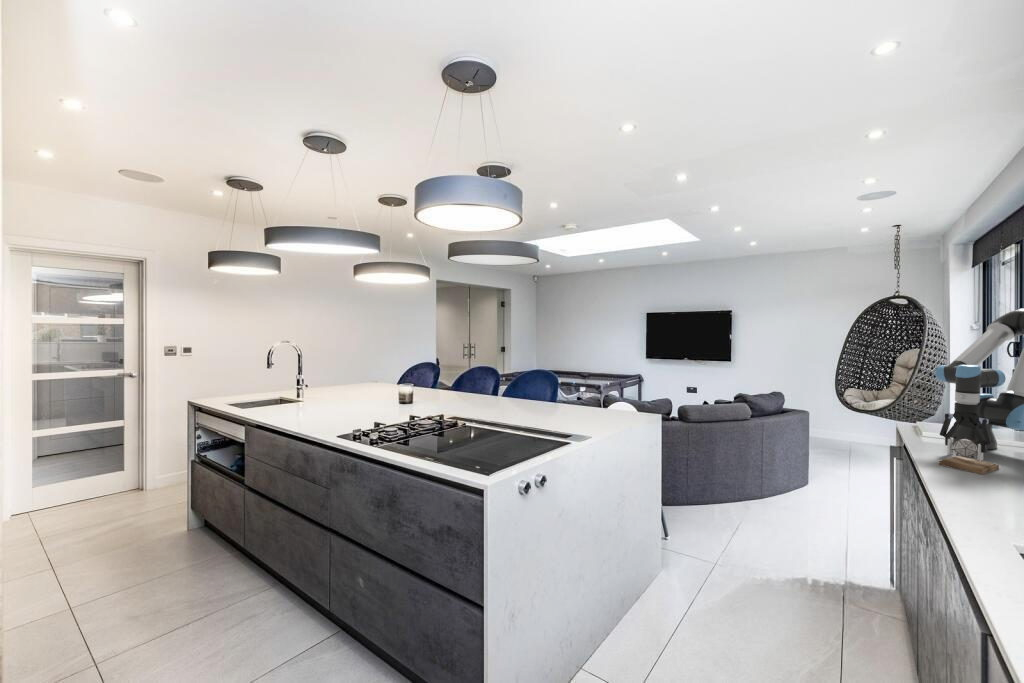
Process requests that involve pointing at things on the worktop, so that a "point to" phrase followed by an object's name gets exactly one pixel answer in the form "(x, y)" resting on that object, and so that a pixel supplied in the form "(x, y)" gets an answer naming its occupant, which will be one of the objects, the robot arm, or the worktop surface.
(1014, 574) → the worktop surface
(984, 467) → the plate
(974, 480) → the worktop surface
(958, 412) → the robot arm
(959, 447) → the game die
